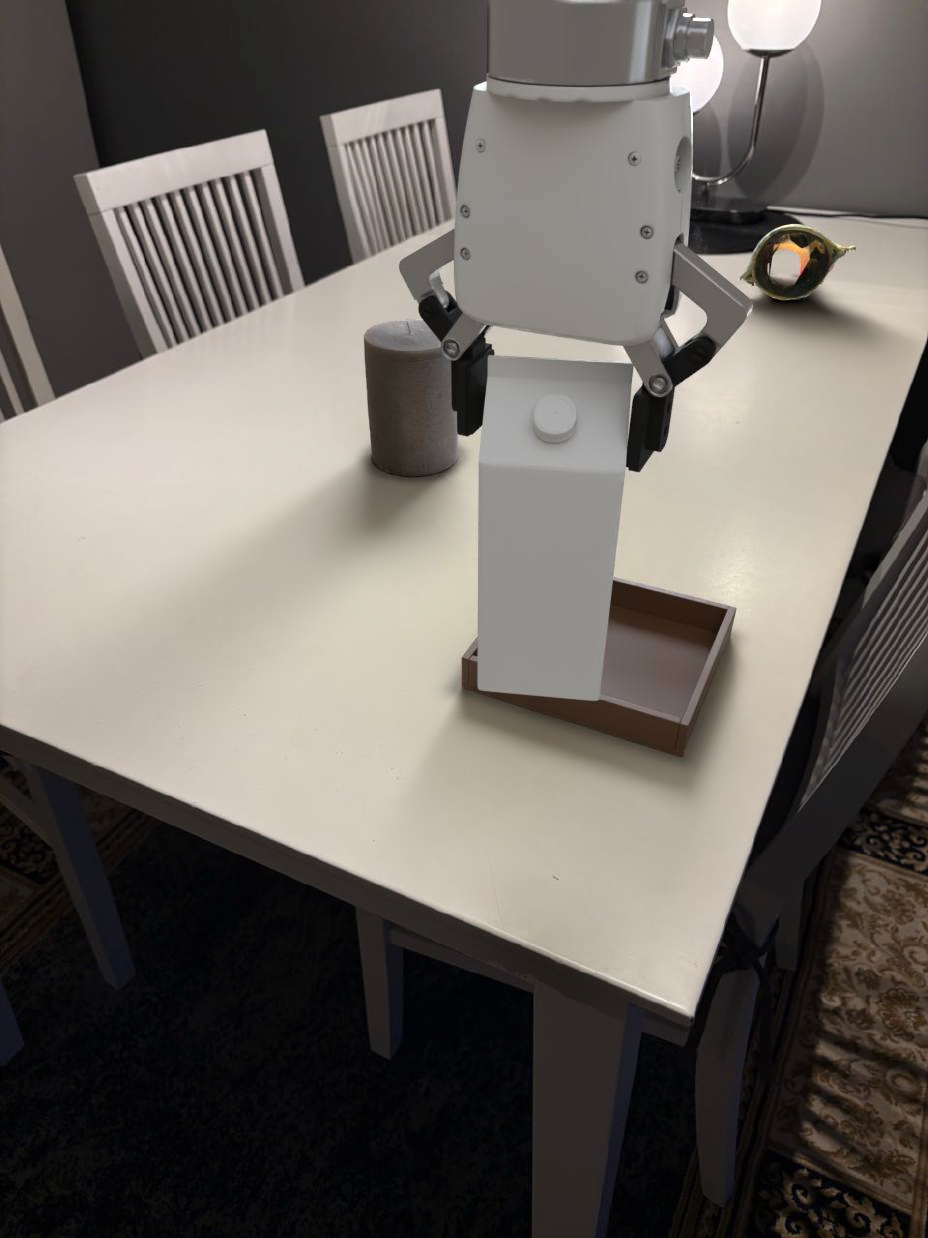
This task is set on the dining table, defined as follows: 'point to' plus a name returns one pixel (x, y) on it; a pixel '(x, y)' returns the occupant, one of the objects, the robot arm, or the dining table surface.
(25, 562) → the dining table surface
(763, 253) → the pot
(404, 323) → the pillar candle
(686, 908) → the dining table surface
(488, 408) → the milk carton
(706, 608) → the tray
